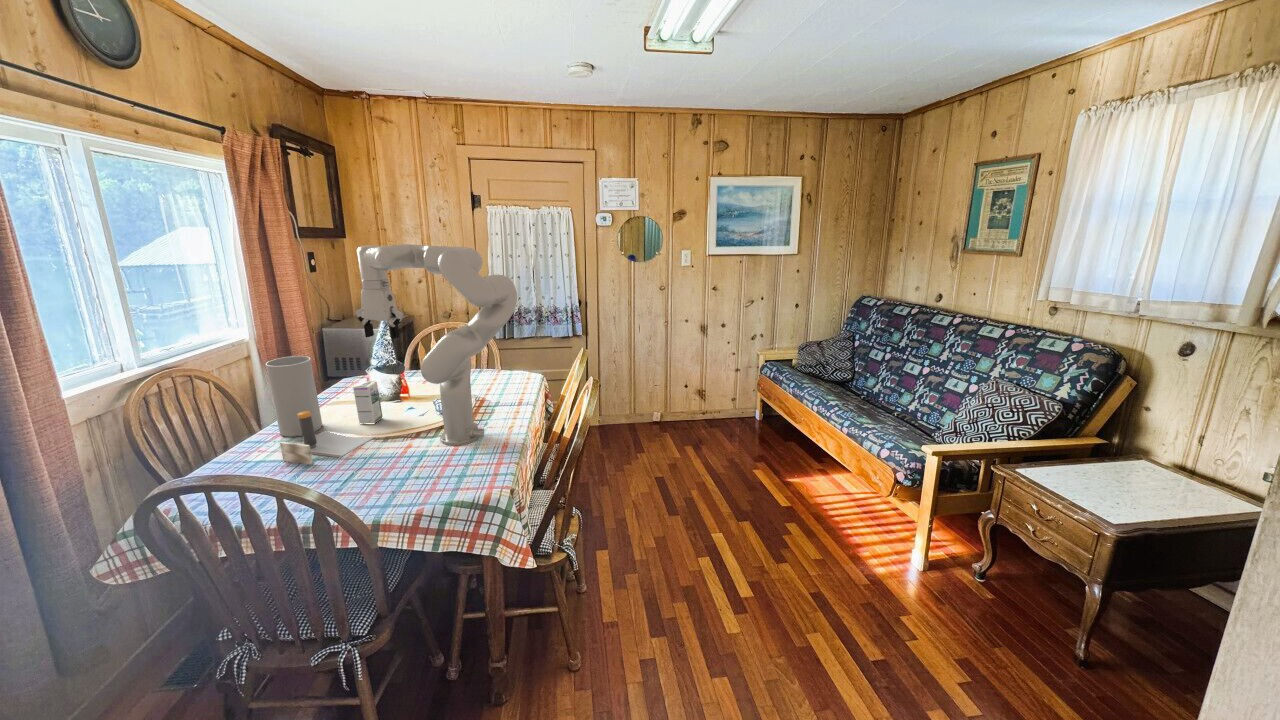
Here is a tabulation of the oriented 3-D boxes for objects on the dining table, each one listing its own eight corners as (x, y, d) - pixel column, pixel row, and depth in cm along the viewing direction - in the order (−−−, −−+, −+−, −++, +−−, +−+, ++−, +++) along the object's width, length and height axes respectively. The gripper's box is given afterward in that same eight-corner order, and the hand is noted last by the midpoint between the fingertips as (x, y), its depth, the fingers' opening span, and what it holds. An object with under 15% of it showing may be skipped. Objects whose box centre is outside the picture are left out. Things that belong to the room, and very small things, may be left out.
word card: (313, 463, 154) (309, 444, 153) (310, 464, 154) (307, 446, 152) (286, 459, 157) (282, 441, 155) (283, 460, 156) (279, 442, 154)
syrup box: (375, 424, 182) (369, 386, 178) (358, 424, 183) (352, 386, 179) (383, 418, 188) (377, 381, 184) (367, 418, 188) (361, 381, 184)
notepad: (375, 437, 173) (375, 436, 172) (339, 458, 158) (338, 457, 158) (325, 431, 177) (325, 430, 177) (285, 451, 162) (285, 450, 162)
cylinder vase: (288, 440, 169) (274, 368, 163) (274, 431, 177) (259, 361, 170) (329, 428, 179) (316, 360, 172) (313, 420, 186) (301, 354, 179)
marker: (320, 445, 165) (313, 411, 162) (311, 450, 162) (303, 415, 159) (311, 444, 166) (303, 410, 163) (302, 449, 163) (294, 414, 160)
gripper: (406, 284, 165) (413, 336, 170) (360, 282, 169) (368, 333, 174) (390, 287, 158) (397, 341, 163) (343, 285, 162) (351, 338, 167)
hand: (382, 337), depth 168 cm, fingers open, 9 cm apart
